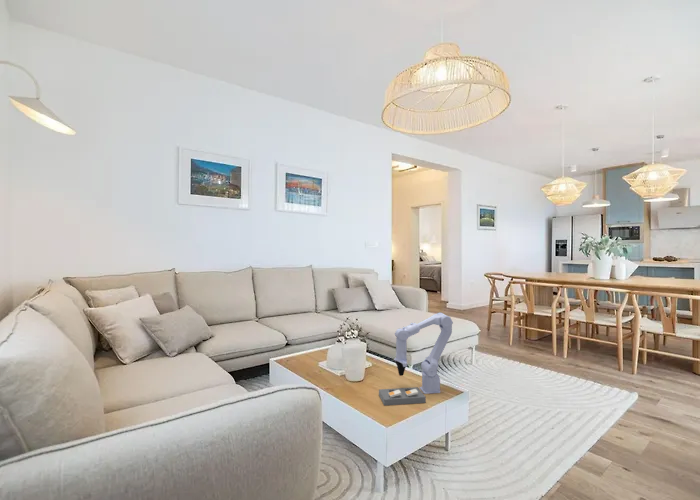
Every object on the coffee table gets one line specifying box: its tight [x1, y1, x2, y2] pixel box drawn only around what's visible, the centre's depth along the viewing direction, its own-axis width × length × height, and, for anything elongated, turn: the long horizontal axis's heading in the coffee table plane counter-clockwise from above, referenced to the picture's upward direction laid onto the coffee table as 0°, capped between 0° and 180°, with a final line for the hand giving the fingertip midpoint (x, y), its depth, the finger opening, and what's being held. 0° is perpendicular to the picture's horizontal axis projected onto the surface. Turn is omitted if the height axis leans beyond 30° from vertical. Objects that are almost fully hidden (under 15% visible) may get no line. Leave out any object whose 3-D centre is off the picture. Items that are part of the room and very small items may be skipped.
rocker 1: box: [388, 390, 401, 398], centre depth 176 cm, size 6×4×1 cm, turn 98°
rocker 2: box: [405, 389, 418, 397], centre depth 177 cm, size 6×4×1 cm, turn 98°
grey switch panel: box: [378, 386, 427, 406], centre depth 180 cm, size 22×12×3 cm, turn 98°
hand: (401, 375), depth 188 cm, fingers closed
